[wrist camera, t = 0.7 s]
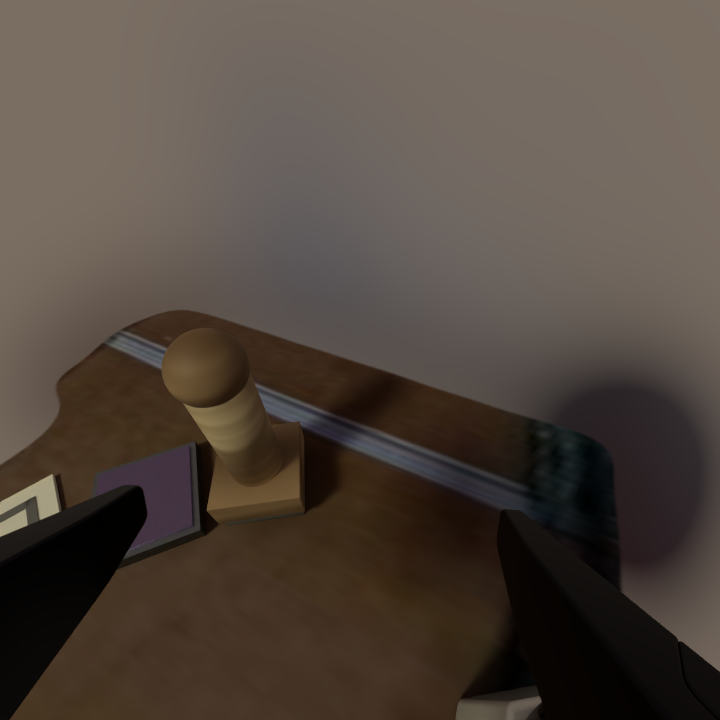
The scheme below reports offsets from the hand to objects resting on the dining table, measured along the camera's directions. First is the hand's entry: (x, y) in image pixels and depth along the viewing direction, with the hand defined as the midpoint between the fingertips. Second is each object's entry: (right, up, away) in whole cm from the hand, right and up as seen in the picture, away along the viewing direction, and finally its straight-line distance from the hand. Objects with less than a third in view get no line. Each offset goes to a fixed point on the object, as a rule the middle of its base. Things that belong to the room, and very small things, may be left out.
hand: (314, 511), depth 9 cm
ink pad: (-14, -7, +16) cm, 22 cm away
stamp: (-6, -5, +17) cm, 18 cm away
